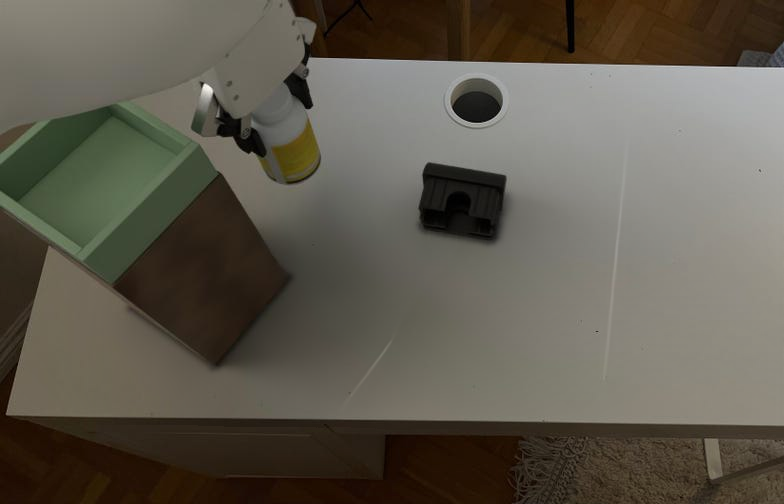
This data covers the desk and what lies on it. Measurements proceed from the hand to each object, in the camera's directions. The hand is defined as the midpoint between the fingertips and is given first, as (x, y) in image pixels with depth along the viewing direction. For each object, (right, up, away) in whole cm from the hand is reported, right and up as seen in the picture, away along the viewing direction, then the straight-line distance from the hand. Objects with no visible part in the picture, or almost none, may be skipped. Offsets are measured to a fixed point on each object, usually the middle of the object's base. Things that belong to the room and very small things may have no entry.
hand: (277, 124), depth 67 cm
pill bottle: (0, -3, +6) cm, 7 cm away
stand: (-12, -18, +11) cm, 24 cm away
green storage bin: (-11, -8, -10) cm, 17 cm away
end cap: (+18, -8, +17) cm, 26 cm away
